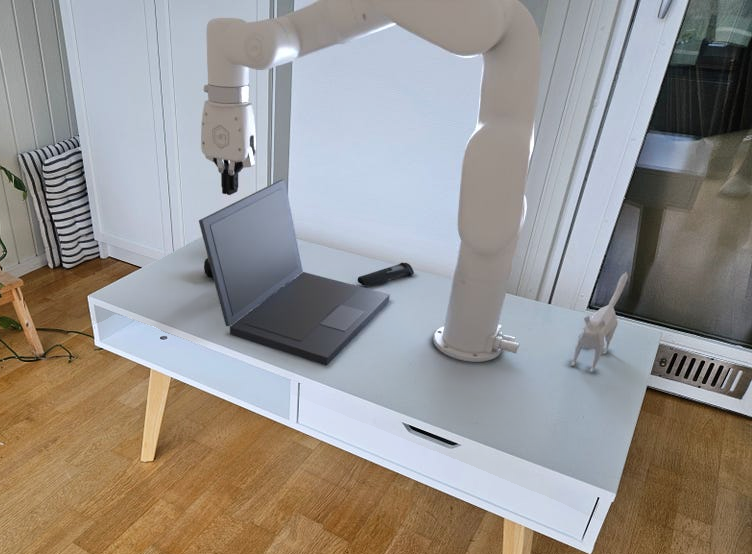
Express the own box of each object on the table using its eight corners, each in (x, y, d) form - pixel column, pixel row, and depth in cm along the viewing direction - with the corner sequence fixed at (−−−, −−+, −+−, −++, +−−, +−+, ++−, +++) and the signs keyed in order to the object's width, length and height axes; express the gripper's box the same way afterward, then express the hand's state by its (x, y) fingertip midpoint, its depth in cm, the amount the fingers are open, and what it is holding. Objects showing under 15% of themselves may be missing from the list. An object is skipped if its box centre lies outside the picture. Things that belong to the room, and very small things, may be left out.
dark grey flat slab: (388, 301, 137) (389, 293, 136) (326, 366, 115) (327, 357, 114) (302, 278, 145) (303, 271, 144) (229, 334, 124) (229, 326, 123)
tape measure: (206, 282, 143) (205, 267, 141) (202, 270, 149) (202, 255, 146) (236, 280, 144) (236, 265, 142) (231, 267, 150) (231, 253, 148)
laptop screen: (285, 179, 136) (281, 179, 136) (202, 220, 114) (198, 220, 115) (303, 271, 145) (299, 271, 145) (229, 326, 123) (225, 326, 123)
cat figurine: (561, 374, 114) (583, 305, 106) (592, 332, 127) (614, 267, 120) (587, 384, 111) (611, 313, 104) (616, 339, 125) (640, 273, 117)
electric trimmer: (352, 286, 143) (353, 273, 142) (403, 270, 150) (405, 258, 149) (363, 292, 141) (364, 279, 139) (414, 276, 148) (416, 263, 146)
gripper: (183, 92, 117) (188, 191, 127) (252, 102, 111) (251, 205, 121) (207, 87, 123) (210, 181, 132) (274, 96, 116) (271, 194, 126)
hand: (229, 192), depth 127 cm, fingers closed
